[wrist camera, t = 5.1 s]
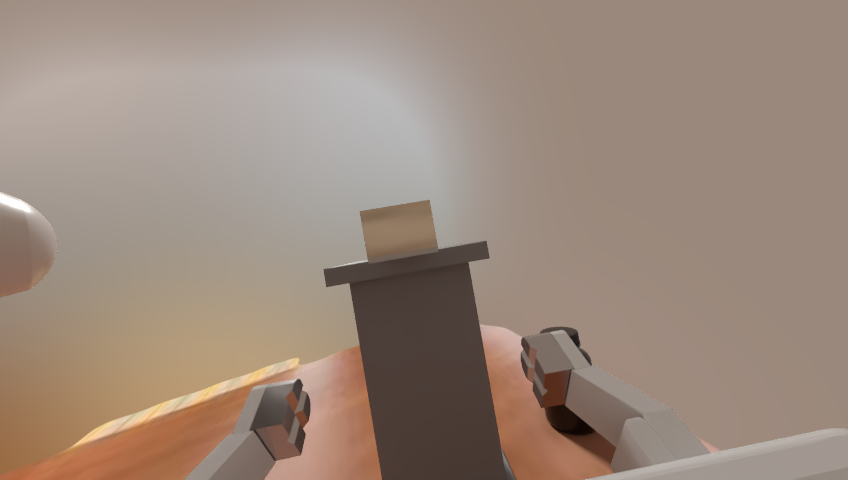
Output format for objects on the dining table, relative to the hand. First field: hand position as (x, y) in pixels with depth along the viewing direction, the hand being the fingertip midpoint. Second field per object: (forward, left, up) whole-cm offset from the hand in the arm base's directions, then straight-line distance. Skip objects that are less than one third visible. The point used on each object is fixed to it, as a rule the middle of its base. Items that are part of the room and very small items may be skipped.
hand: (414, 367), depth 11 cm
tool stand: (+10, +18, -22) cm, 30 cm away
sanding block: (+8, +14, +4) cm, 17 cm away
